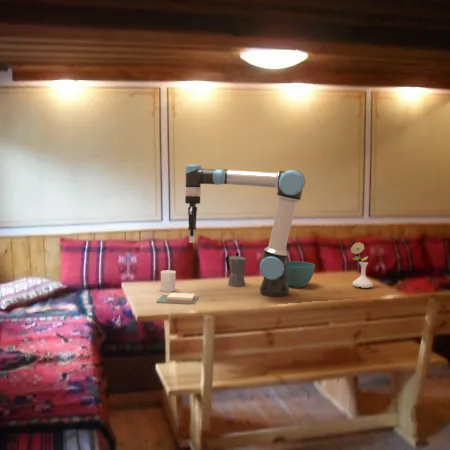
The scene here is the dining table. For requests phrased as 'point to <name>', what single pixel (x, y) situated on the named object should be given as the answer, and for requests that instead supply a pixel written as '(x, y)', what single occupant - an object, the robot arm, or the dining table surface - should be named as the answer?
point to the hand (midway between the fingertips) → (192, 242)
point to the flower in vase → (362, 280)
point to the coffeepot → (236, 270)
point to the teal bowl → (299, 273)
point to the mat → (164, 300)
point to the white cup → (168, 280)
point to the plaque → (180, 297)
